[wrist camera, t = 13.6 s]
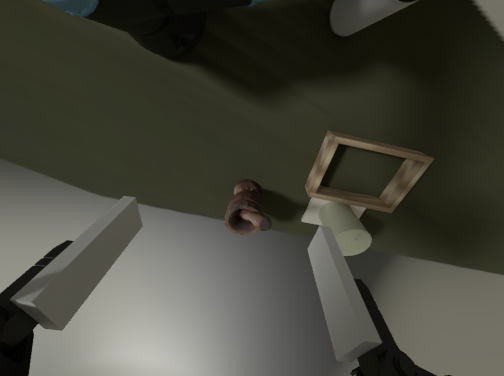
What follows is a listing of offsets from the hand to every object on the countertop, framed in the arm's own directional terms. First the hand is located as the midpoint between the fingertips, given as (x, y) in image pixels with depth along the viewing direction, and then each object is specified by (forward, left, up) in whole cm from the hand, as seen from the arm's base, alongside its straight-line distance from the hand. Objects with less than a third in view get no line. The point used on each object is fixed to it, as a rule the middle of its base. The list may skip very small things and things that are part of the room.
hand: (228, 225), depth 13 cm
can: (+19, +29, -33) cm, 48 cm away
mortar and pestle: (+16, +3, -33) cm, 37 cm away
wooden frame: (+5, +29, -33) cm, 44 cm away
